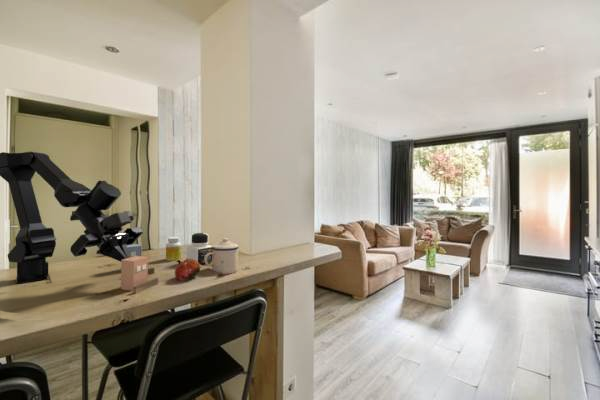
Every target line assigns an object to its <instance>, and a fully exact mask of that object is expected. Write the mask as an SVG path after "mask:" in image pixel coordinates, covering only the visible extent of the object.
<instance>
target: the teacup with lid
mask: <svg viewBox="0 0 600 400" xmlns="http://www.w3.org/2000/svg"><path fill="white" fill-rule="evenodd" d="M211 246H212V249H213V252H209V253H207V254H206V255H205V257H204V261H205V264H206V265H207V267H211V268H212V272H217V273H220V275H230V274H233V273H236V272H237V271H238V259H239V258H238V256H239V254H238V250H239V249H238V248H239V245H238V244H237V243H234V242H232V241H231V240H229V238H227V237H223V238H222V240H221V241H219V242H218V243H215V244H213V245H211ZM211 254H213V256H212V264H208V262H207V257H208V256H209V255H211Z"/></svg>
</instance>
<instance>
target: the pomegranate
mask: <svg viewBox="0 0 600 400" xmlns="http://www.w3.org/2000/svg"><path fill="white" fill-rule="evenodd" d="M175 263H178V266H177V267H176V268H175V269H174V276H175V279H176V281H180V282H185V281H188V280H189V279H192V278H193V279H194V280H196V279H197V278H195V276H196V275H197V274H199V272H200V270H201V269H202V265H200V264H199V263H198V262H197V261H196V260H194V259H184V260H183V261H181V260H177V261H175Z"/></svg>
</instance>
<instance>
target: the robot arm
mask: <svg viewBox="0 0 600 400" xmlns="http://www.w3.org/2000/svg"><path fill="white" fill-rule="evenodd" d="M35 173H36V174H38V175H39V176H40V177H41V178H42V179H43V180H44V181H45V182H46V183H47V184H48V185H49V186H50V187H51V189H53V190H54V193H53V196H54V198H55V200H56V201H57V202H58V203H59V204H60V205H61V207H63V208H76V209H75V210H73V211H71V215H70V218H69V220H70V221H72V222H73V221H79V222H80V223H81V224H82V226H83V227H84V228H85V230H84V231H83V233H84V234H80V235H79V236H78V238H76V239H75V241H74V242H73V244H72V245H71V246H70V252H71V254H72V255H73V256H74V258H77V257H80V256H86V254H87V252H88V249H87V248H93V247H97V249H98V250H97V251H96V254H97V255H101V256H102V255H103V256H104V257H107V258H110V259H112V260H116V261H117V262H120V263H121V260H123V259H127V258H129V255H128V251H127V245H134V243H135V242H136V241H137V240H138V239H139V238H140V237H141V235H142V234H143V233H144V231H143V230H142V229H141V227H140V226H139V227H138V226H135V227H127V228H126V229H124V228H123V227H124V226H126V225H128V224H129V225H130V224H131V223H132V222H133V221H134V219H135V218H134V214H133V213H132V212H130V211H129V210H124V211H122V212H116V213H115V212H114V213H112V214H110V215H108V216H107V215H106V214H105V213H104V211H108V210H110V209H111V207H112V206H113V205H114V203H116V201H117V200H118V199H119V198H120V197H121V195H122V193H121V190H120V189H119V188H118V187H116V186H115V185H113V184H110V183H108V182H107V181H106V180H98V181H97V182H96V184H95V186H93V187H92V189H91V188H89V187H87V186H86V185H84V184H83V183H79V182H77V181H75V180H72V179H71V178H70V177H69V176H68V175H67V174H66V173H65V171H63V170H62V169H61V168H60V167H59V166H58V165H56V163H54V162H53V160H51V158H50V156H49V155H48V154H46V153H43V152H37V151H36V152H35V151H25V152H13V153H12V152H4V151H2V152H0V177H1V178H2V179H3V180H5V181H6V182H7V184H8V185H9V187H8V188H9V190H10V194H11V198H12V202H13V206H14V209H15V213H16V216H17V221H18V225H19V230H18V233H17V235H16V236H15V246H14V247H13V248H12V249H11V250H10V251H9V252H8V254H7V259H8V262H10V263H16V277H15V282H16V284H22V283H30V282H36V281H42V280H47V277H48V276H49V262H48V261H47V259H46V258H52V257H53V255H54V252H55V248H56V245H57V242H56V241H57V238H56V236H55V231H54V229H53V228H52V227H46V226H45V225H44V224H43V221H42V216H41V214H40V213H41V212H40V210H39V206H38V202H37V198H36V194H35V191H34V186H33V184H32V182H33V181H32V179H33V177H34V176H35ZM123 230H124V231H123ZM121 231H123V233H120V232H121Z"/></svg>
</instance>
